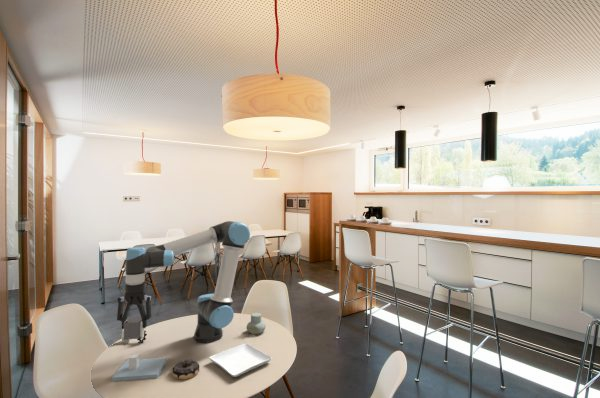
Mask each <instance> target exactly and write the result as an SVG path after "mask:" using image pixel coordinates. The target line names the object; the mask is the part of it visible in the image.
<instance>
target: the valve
mask: <svg viewBox="0 0 600 398" xmlns="http://www.w3.org/2000/svg"><path fill="white" fill-rule="evenodd" d="M146 336H147V330H144V335H143V336H142V337H140V338H139V339H136V340H137V341H138V342H137V344H144V341H146V339H147V338H146ZM120 337H121V344H128V343H130V341H131V339H124V329H122V330H121V336H120Z"/></svg>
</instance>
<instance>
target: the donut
mask: <svg viewBox="0 0 600 398" xmlns="http://www.w3.org/2000/svg"><path fill="white" fill-rule="evenodd" d="M199 372H200V363H199V362H198V361H197V360H195V359H185V360H181V361H178V362H177V363H175V364H174V365H173V366H172V368H171V375H172V376H173V377H174V378H175V379H177V380H188V379H191V378H193V377H196V375H198V374H199Z"/></svg>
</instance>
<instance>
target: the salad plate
mask: <svg viewBox="0 0 600 398" xmlns="http://www.w3.org/2000/svg"><path fill="white" fill-rule="evenodd" d="M208 359H210V362H212V363H213V364H215V365H217V366H218V367H219V368H221V369H222V370H224V371H225V372H226V373H227V374H229V376H230V377H232V378H237V377H240V376H242V375H244V374H245V373H248V372H250V371H253V370H254V369H256V368H258V367H261V366H263V365H266V364H267V363H268V362H270V361H271V360H272V356H271V355H268V353H265V352H263V351H262V350H260V349H258V348H256V347H254V346H253V345H251V344H249V343H243V344H240V345H237V346H234V347H231V348H228V349H226V350H223V351H221V352H218V353H216V354H214V355H211V356H209V357H208Z"/></svg>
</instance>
